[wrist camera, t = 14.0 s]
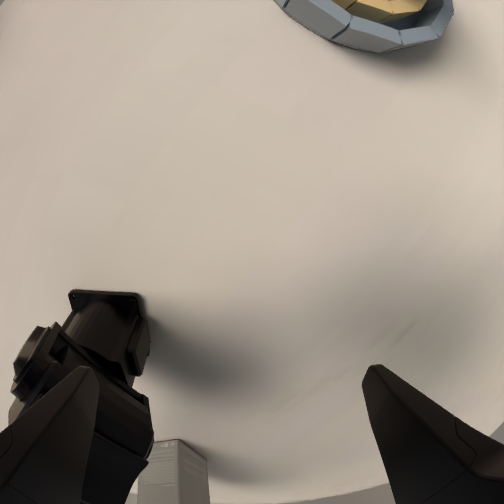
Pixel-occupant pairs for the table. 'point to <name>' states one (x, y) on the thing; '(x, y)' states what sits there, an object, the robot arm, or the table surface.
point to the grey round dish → (372, 21)
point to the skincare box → (173, 476)
